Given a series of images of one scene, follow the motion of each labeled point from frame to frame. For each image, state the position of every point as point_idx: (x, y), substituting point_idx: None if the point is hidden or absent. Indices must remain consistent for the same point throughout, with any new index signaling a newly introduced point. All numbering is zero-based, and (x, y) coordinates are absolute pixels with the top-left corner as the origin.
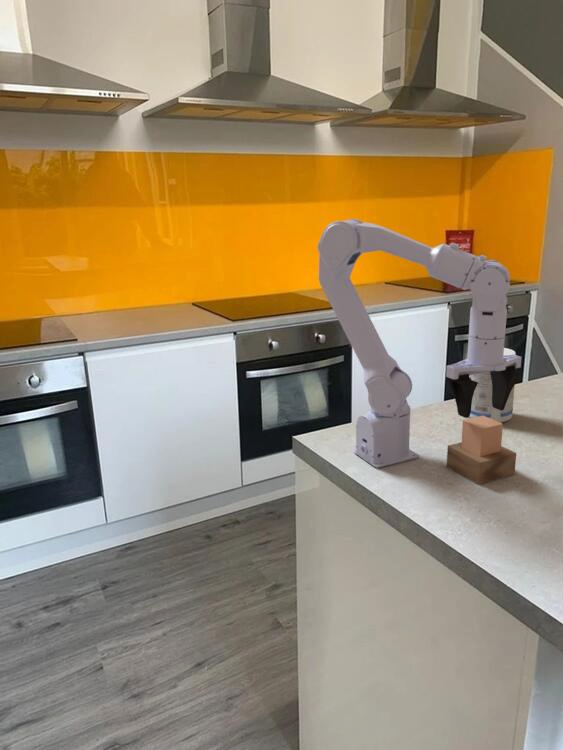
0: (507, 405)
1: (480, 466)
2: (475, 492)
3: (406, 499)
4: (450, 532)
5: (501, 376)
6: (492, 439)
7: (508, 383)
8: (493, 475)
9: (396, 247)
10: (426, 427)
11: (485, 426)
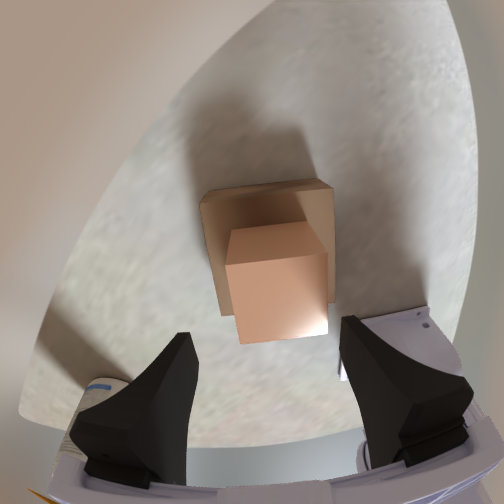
0: (93, 398)
1: (327, 186)
2: (345, 153)
3: (457, 190)
4: (452, 73)
5: (163, 451)
6: (269, 240)
7: (150, 406)
8: (275, 185)
9: None
10: (245, 408)
11: (301, 267)
